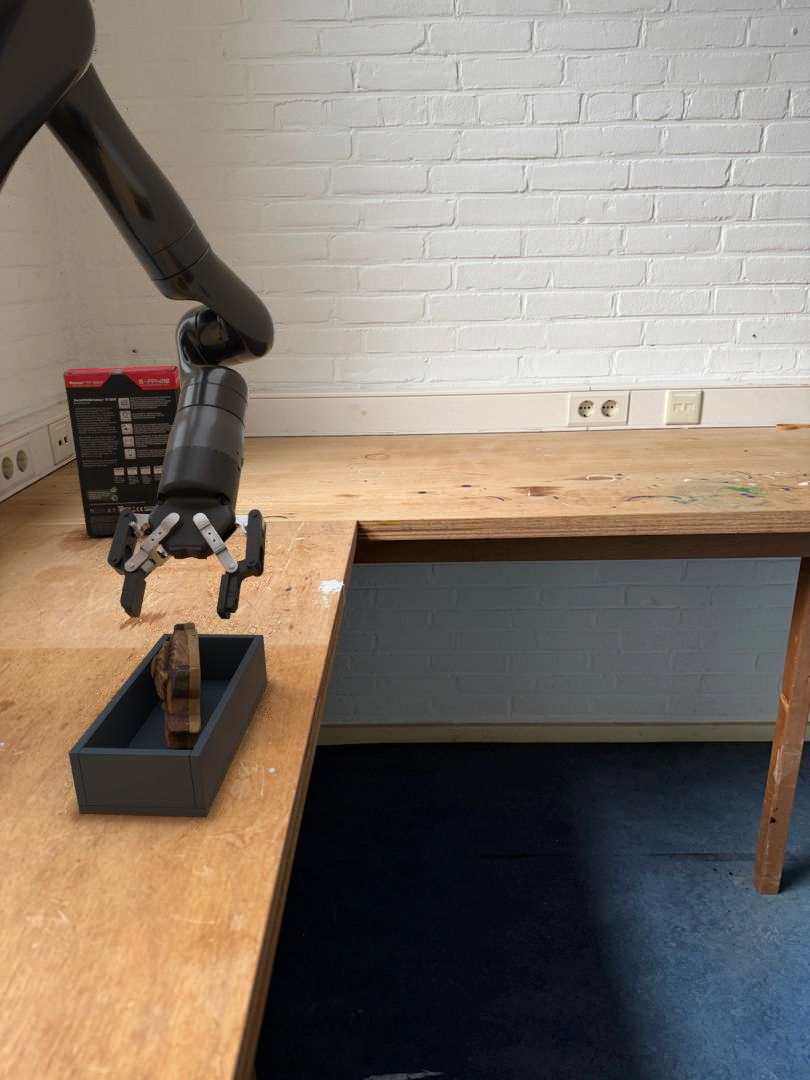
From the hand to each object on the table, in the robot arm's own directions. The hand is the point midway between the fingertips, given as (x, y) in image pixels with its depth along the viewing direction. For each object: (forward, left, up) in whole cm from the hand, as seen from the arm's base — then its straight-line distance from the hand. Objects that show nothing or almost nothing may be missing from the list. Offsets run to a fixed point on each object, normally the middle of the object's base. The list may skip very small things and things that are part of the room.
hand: (177, 615), depth 73 cm
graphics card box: (-28, +60, -12) cm, 68 cm away
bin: (0, -2, -12) cm, 12 cm away
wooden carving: (0, -2, -11) cm, 12 cm away
